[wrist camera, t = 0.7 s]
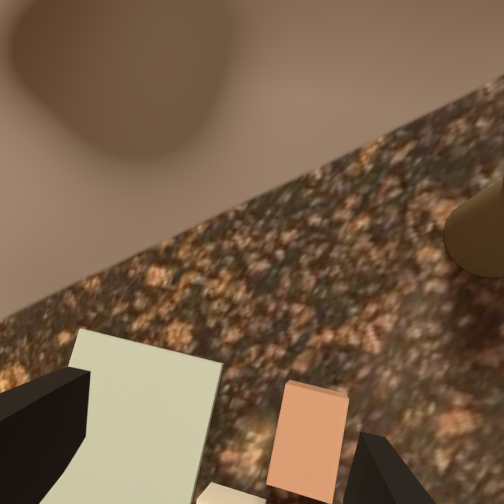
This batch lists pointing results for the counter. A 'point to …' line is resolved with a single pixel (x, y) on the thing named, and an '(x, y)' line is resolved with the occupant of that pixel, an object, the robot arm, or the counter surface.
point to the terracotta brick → (308, 441)
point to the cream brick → (226, 496)
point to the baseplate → (139, 424)
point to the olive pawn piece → (478, 233)
